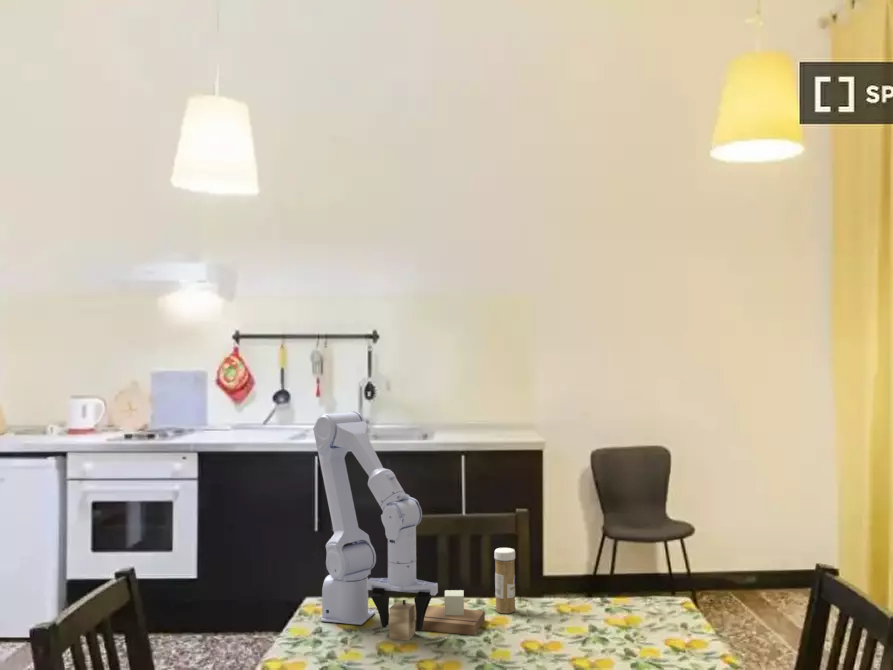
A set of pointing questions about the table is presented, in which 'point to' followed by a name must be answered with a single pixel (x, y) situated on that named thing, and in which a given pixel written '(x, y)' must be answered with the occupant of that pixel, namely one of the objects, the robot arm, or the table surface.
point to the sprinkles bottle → (504, 580)
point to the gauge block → (402, 620)
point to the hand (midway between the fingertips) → (402, 627)
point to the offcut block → (454, 602)
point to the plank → (452, 621)
